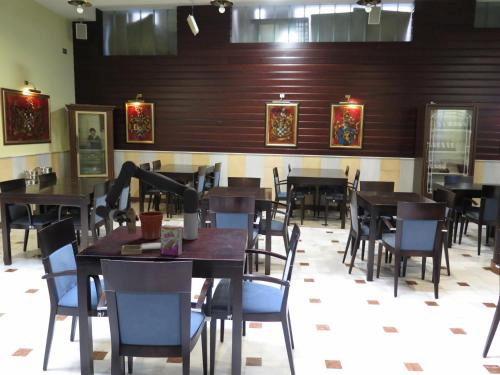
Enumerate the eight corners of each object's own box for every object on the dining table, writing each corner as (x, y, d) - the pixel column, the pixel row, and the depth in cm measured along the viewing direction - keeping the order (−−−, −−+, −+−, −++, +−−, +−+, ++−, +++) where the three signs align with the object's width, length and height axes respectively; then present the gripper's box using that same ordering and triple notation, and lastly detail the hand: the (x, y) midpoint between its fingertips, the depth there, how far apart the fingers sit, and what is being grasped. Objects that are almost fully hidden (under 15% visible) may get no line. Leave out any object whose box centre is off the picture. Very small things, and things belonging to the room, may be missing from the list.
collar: (122, 249, 248) (122, 245, 248) (141, 248, 250) (141, 244, 250) (121, 254, 237) (121, 250, 237) (141, 253, 240) (141, 249, 240)
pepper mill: (128, 232, 244) (127, 206, 242) (136, 232, 245) (135, 206, 243) (127, 234, 240) (126, 208, 238) (135, 233, 241) (135, 207, 239)
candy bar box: (160, 254, 239) (160, 226, 237) (164, 252, 244) (164, 224, 242) (178, 256, 236) (178, 227, 234) (182, 254, 241) (182, 225, 239)
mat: (141, 244, 261) (141, 243, 260) (161, 243, 263) (161, 242, 263) (141, 249, 249) (141, 248, 249) (161, 248, 252) (161, 247, 252)
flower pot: (134, 236, 279) (134, 213, 277) (157, 233, 290) (156, 210, 288) (145, 242, 267) (145, 216, 265) (168, 238, 277) (168, 214, 275)
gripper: (106, 211, 245) (122, 215, 234) (128, 208, 256) (144, 211, 245) (107, 224, 246) (123, 228, 235) (128, 220, 257) (145, 224, 246)
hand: (134, 220), depth 240 cm, fingers closed on pepper mill, 4 cm apart
